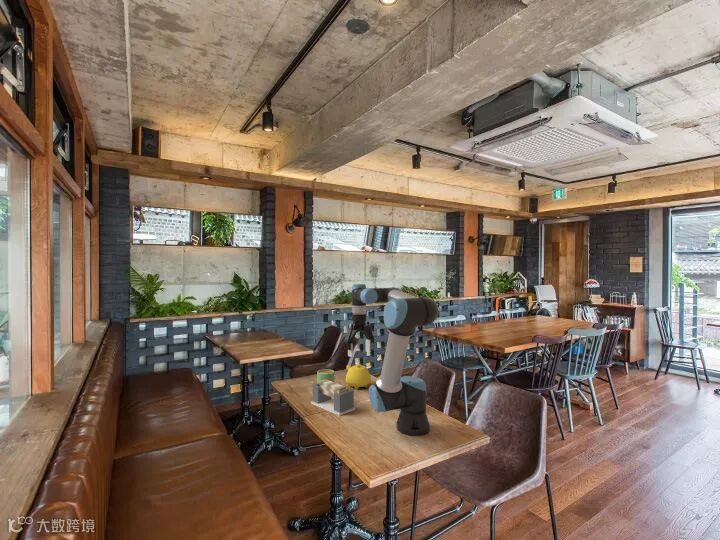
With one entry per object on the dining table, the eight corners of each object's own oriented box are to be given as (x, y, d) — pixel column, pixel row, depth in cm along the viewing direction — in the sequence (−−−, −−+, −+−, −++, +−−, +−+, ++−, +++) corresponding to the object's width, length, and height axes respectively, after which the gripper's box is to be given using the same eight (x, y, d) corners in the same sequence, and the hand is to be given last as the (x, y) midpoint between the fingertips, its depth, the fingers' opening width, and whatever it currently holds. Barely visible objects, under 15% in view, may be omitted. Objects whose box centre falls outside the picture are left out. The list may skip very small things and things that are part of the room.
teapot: (337, 383, 238) (337, 361, 238) (357, 379, 247) (357, 358, 246) (354, 392, 221) (354, 369, 221) (375, 387, 230) (376, 365, 230)
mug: (328, 396, 215) (328, 375, 215) (313, 393, 220) (313, 372, 220) (340, 389, 226) (340, 369, 225) (326, 386, 231) (326, 367, 231)
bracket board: (355, 409, 195) (355, 390, 195) (339, 415, 187) (339, 395, 187) (326, 398, 212) (326, 380, 211) (310, 403, 204) (310, 385, 204)
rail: (345, 398, 195) (346, 386, 195) (339, 400, 192) (339, 388, 192) (326, 390, 207) (326, 379, 207) (319, 392, 204) (319, 380, 204)
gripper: (369, 311, 209) (369, 349, 209) (336, 315, 191) (337, 357, 191) (379, 311, 204) (380, 351, 204) (347, 316, 186) (347, 359, 185)
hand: (359, 354), depth 197 cm, fingers open, 13 cm apart
